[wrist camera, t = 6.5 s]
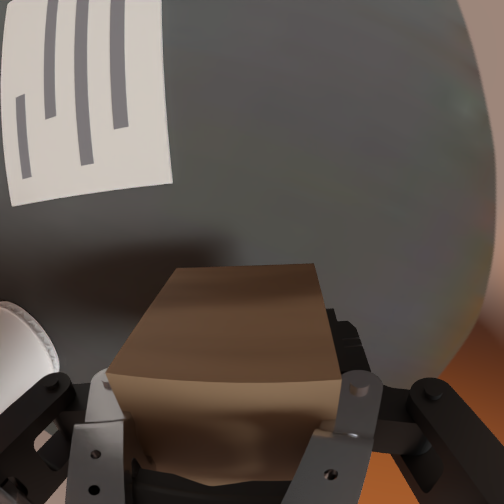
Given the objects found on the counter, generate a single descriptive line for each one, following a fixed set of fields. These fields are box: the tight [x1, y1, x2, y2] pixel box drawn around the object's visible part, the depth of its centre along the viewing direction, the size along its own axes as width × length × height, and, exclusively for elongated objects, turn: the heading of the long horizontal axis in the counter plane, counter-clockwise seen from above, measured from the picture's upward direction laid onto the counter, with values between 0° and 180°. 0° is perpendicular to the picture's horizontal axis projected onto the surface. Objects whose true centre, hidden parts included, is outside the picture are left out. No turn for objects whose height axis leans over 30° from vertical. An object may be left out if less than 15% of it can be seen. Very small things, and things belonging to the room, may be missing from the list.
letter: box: [1, 0, 173, 207], centre depth 13 cm, size 14×11×1 cm
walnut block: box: [105, 263, 342, 486], centre depth 10 cm, size 5×5×6 cm
